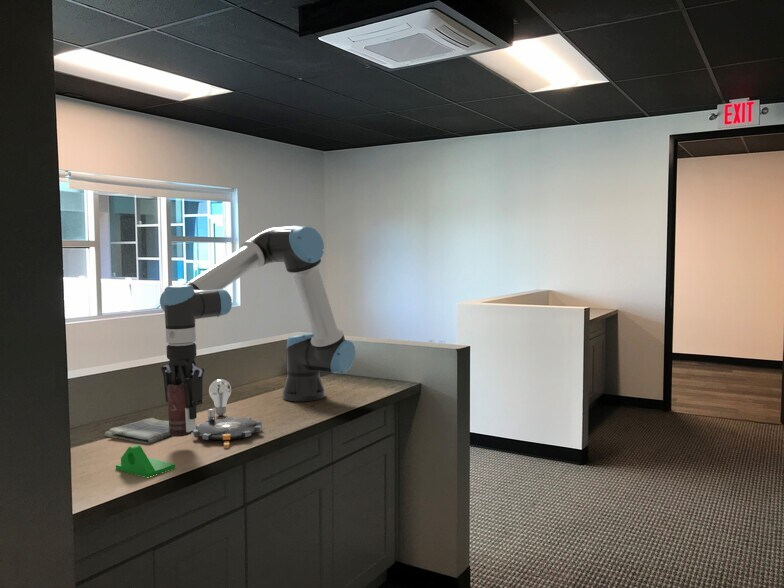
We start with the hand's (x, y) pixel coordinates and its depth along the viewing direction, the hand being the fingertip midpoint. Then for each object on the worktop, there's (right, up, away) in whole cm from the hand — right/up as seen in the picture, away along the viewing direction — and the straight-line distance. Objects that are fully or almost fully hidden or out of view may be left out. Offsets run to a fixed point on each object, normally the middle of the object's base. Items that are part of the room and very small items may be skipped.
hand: (185, 429), depth 166 cm
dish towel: (-16, -5, +16) cm, 23 cm away
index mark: (+11, -5, +2) cm, 12 cm away
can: (-1, -2, +1) cm, 2 cm away
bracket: (-5, -7, -15) cm, 17 cm away
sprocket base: (+8, -4, +13) cm, 16 cm away
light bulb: (0, -3, +34) cm, 34 cm away
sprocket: (+8, -3, +13) cm, 16 cm away
